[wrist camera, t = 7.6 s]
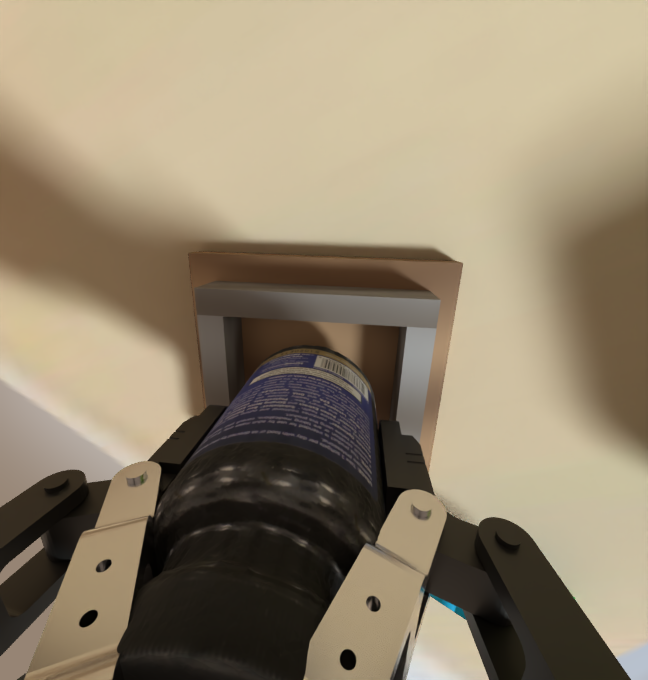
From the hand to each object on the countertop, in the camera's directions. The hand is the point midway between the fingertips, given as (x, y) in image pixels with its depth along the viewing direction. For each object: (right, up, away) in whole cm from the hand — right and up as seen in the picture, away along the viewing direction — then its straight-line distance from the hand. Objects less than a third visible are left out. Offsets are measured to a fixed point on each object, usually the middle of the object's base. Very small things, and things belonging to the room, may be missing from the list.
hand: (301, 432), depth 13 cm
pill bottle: (0, +1, +3) cm, 3 cm away
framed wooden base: (+1, +2, +5) cm, 6 cm away
